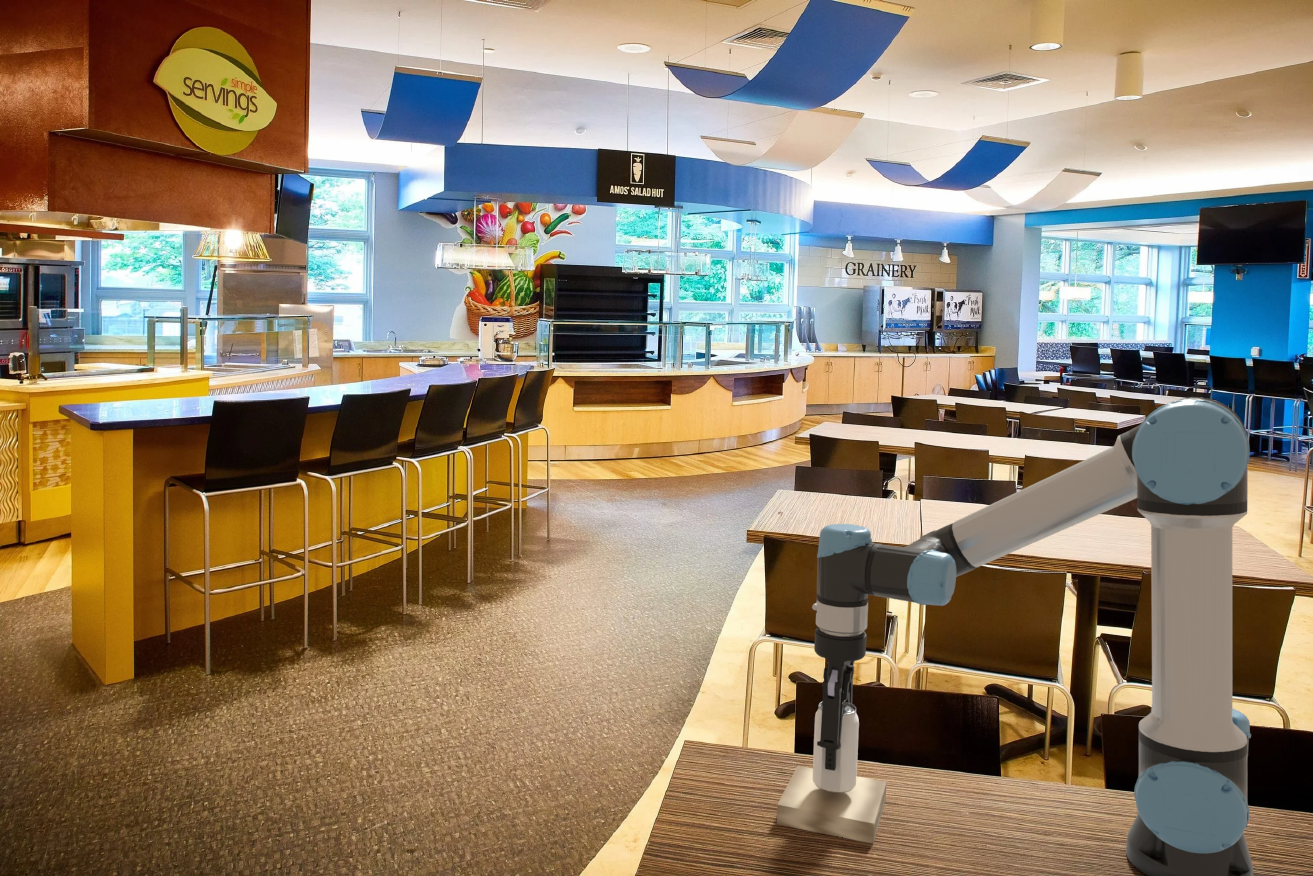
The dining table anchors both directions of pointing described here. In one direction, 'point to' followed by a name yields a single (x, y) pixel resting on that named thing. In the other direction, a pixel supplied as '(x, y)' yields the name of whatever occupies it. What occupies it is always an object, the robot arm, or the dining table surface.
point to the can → (848, 749)
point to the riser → (832, 807)
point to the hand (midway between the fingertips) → (834, 778)
